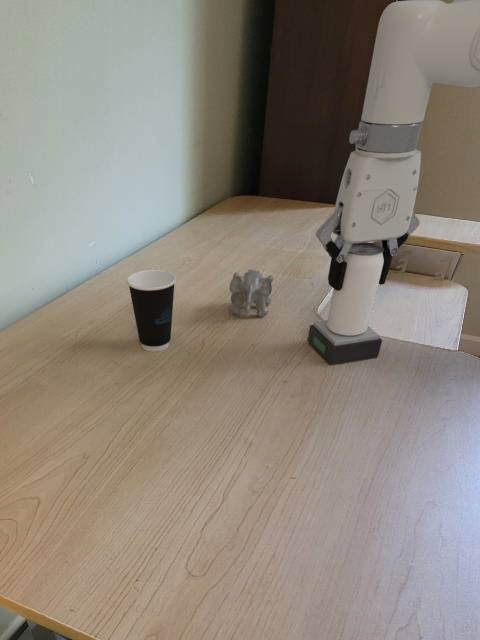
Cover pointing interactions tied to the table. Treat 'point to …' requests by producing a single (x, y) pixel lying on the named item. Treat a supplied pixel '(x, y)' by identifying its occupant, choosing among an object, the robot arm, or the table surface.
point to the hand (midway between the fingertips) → (356, 283)
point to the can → (356, 290)
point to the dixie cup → (153, 307)
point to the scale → (343, 344)
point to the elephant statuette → (251, 292)
